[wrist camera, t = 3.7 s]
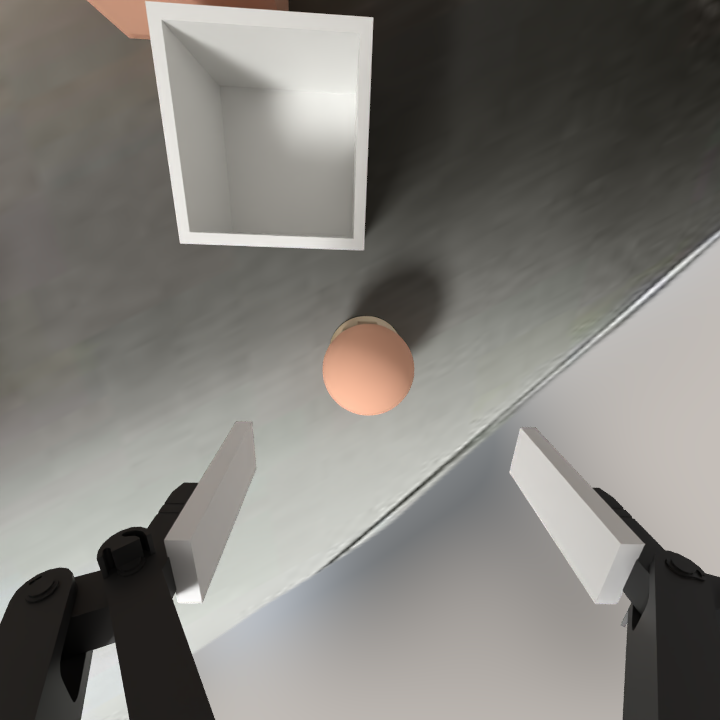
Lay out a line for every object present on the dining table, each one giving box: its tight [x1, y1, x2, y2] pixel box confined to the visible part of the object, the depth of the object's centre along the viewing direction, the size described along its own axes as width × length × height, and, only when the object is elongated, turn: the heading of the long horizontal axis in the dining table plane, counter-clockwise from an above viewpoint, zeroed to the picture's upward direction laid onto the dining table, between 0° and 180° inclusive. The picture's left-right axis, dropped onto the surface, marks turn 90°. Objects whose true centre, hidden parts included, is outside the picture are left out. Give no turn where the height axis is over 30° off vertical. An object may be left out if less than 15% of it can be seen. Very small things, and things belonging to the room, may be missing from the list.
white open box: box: [145, 1, 373, 250], centre depth 21 cm, size 10×10×8 cm
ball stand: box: [330, 316, 397, 344], centre depth 29 cm, size 6×6×1 cm
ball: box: [323, 324, 414, 415], centre depth 26 cm, size 7×7×7 cm
